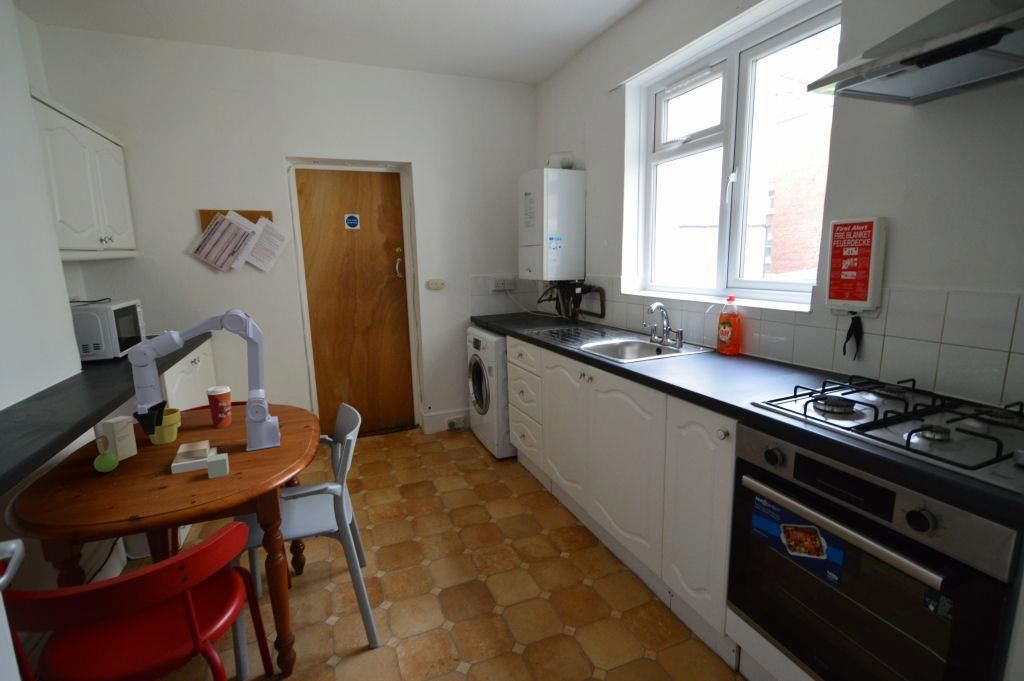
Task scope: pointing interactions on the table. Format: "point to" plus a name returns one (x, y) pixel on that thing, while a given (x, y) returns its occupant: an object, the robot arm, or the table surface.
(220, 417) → the paper cup
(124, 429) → the skincare box
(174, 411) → the plant pot
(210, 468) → the sage block
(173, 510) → the table surface
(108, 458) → the snail figurine
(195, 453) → the beech top block
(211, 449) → the grey base block
